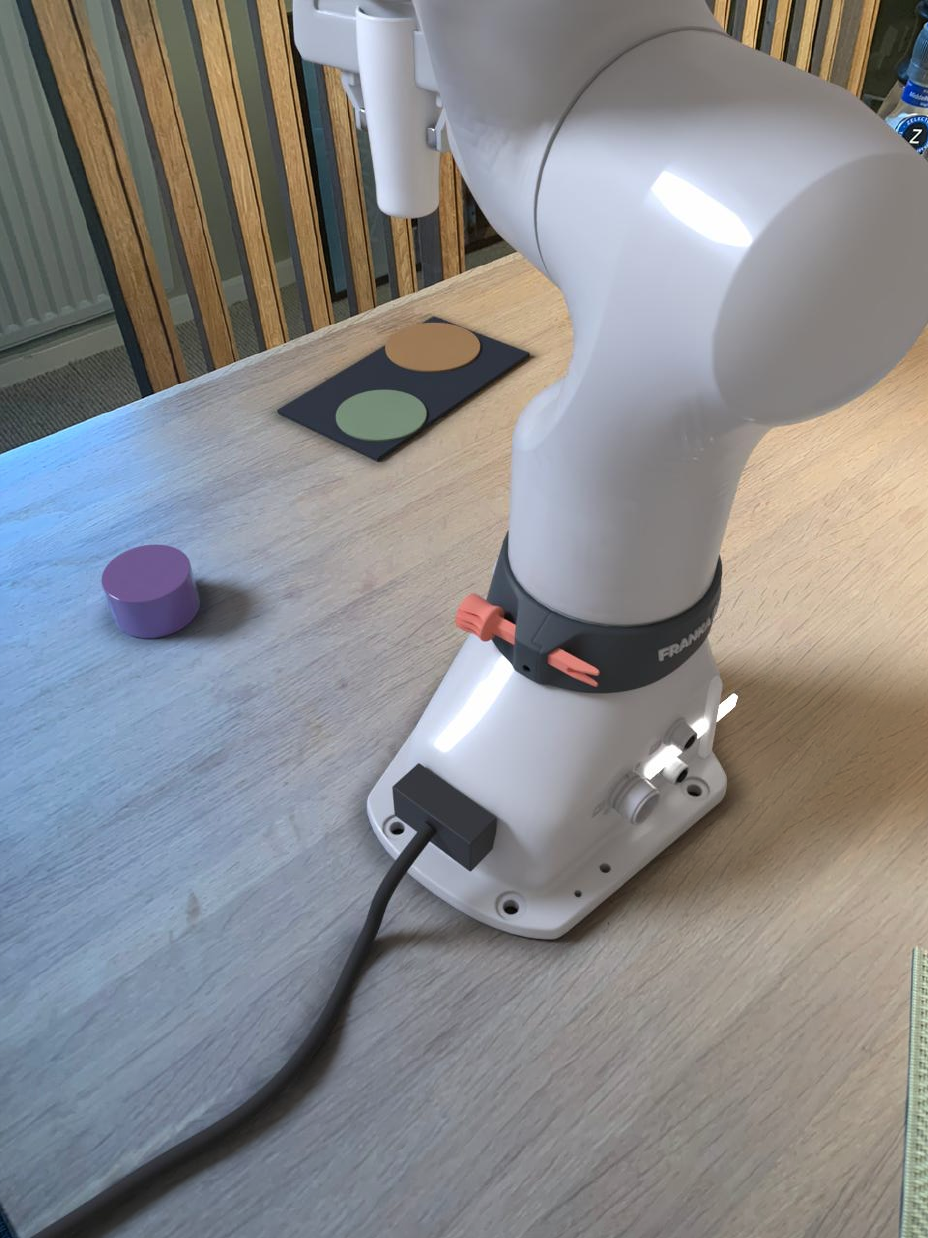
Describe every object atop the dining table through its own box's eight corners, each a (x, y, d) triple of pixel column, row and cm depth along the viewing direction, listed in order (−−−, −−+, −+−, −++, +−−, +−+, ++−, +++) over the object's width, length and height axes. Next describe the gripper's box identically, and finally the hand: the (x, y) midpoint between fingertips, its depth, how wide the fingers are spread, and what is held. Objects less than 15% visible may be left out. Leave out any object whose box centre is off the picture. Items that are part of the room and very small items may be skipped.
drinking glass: (439, 227, 82) (433, 21, 71) (359, 221, 83) (343, 16, 72) (455, 195, 86) (453, -3, 76) (380, 190, 87) (367, -7, 77)
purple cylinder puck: (150, 651, 68) (139, 614, 65) (96, 613, 70) (82, 577, 68) (217, 603, 71) (208, 567, 69) (163, 569, 74) (152, 533, 71)
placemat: (377, 461, 83) (377, 456, 83) (272, 411, 89) (271, 405, 88) (529, 356, 96) (530, 350, 95) (429, 317, 101) (429, 312, 101)
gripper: (262, -74, 74) (286, 124, 83) (482, -38, 65) (481, 179, 74) (320, -87, 77) (337, 104, 87) (537, -55, 68) (529, 154, 78)
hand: (405, 139), depth 81 cm, fingers closed on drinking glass, 6 cm apart
